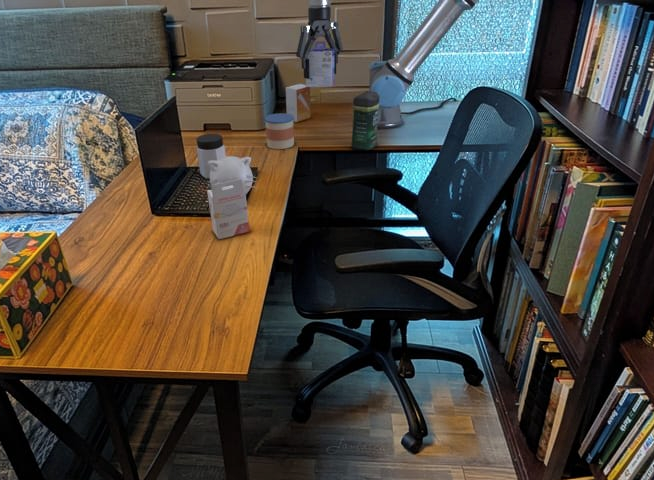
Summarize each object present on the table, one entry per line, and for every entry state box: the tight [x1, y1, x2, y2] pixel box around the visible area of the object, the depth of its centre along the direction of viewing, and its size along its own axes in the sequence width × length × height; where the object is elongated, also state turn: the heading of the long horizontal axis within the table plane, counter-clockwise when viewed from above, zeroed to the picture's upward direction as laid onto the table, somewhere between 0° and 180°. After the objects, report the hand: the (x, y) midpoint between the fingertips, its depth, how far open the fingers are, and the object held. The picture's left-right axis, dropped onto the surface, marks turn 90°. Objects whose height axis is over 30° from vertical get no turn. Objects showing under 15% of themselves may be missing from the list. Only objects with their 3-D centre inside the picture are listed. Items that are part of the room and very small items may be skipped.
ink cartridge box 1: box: [206, 179, 250, 240], centre depth 124 cm, size 9×5×15 cm, turn 114°
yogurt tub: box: [264, 112, 295, 150], centre depth 180 cm, size 10×10×10 cm
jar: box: [195, 133, 227, 180], centre depth 158 cm, size 9×8×12 cm
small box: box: [285, 83, 311, 123], centre depth 204 cm, size 8×6×13 cm
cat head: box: [207, 155, 260, 195], centre depth 143 cm, size 15×13×12 cm
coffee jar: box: [351, 90, 380, 151], centre depth 171 cm, size 10×8×19 cm
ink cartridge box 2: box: [305, 40, 335, 88], centre depth 176 cm, size 10×6×14 cm, turn 78°
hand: (320, 75), depth 178 cm, fingers closed on ink cartridge box 2, 10 cm apart
